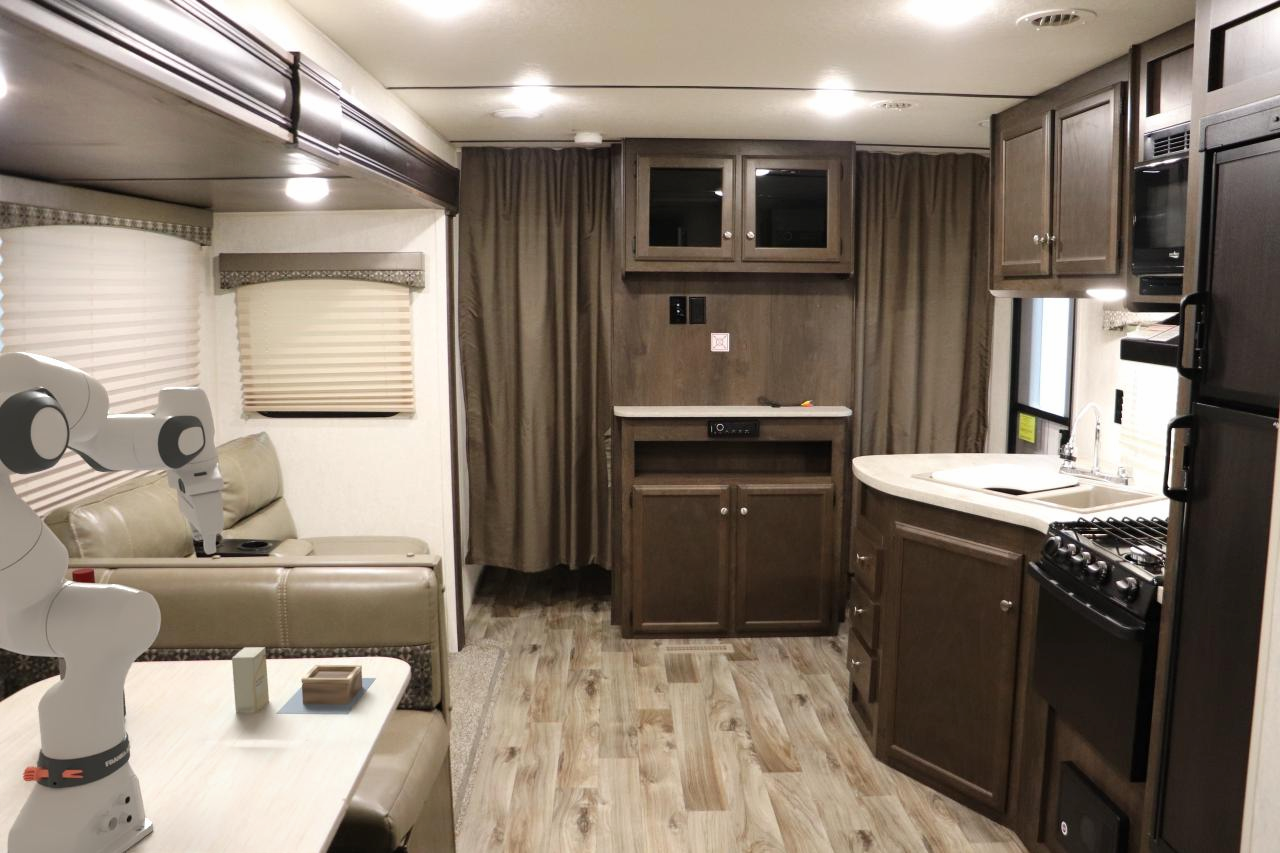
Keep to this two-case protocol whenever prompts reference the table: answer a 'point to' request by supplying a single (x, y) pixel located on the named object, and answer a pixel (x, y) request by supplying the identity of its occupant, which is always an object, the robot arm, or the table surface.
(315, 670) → the walnut tray
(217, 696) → the table surface
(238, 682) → the skincare box
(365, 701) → the table surface
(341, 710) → the blue board
